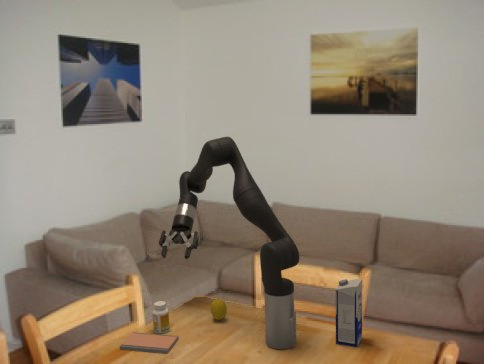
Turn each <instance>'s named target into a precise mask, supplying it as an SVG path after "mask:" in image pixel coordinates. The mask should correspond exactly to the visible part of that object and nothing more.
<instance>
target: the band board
mask: <svg viewBox="0 0 484 364" xmlns="http://www.w3.org/2000/svg"><path fill="white" fill-rule="evenodd" d="M179 337H180V336H179V335H170V334H158V333H145V332H132V333H130V334H129V336H127V337H126V338H125V340H123V342H122V343H121V344H120V345H119V350H123V351H134V352H145V353H146V352H147V353H158V354H168V353H169V352H170V351H171V349H173V347H174V346H175V345H176V343H177V342H178V341H179Z"/></svg>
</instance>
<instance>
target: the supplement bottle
mask: <svg viewBox="0 0 484 364" xmlns="http://www.w3.org/2000/svg"><path fill="white" fill-rule="evenodd" d="M153 307H154V309H153V310H152V312H151V313H152V327H153V332H154V334H160V335H162V334H166V333H168V332H169V331H170V328H171V327H170V316H169V315H170V314H169V313H170V312H169V309H168V307H167V302H166V301H164V300H160V301H156V302H154V303H153Z"/></svg>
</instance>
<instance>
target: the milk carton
mask: <svg viewBox="0 0 484 364" xmlns="http://www.w3.org/2000/svg"><path fill="white" fill-rule="evenodd" d="M362 339H363V278H358V279H356V278H354V279H349V280H348V279H342V280H339V281H338V286H337V287H335V345H339V346H340V345H341V346H346V347H353V348H358V347H359V345H360V343H361V341H362Z"/></svg>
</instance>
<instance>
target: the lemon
mask: <svg viewBox="0 0 484 364" xmlns="http://www.w3.org/2000/svg"><path fill="white" fill-rule="evenodd" d="M227 311H228V308H227V304H226V302H225V301H224V300H223V299H221V298H216V299H214V300H213V301H212V302H211V305H210V312H211V313H210V314H211V316H212V318H214V319H215V320H218V321H221V320H222V319H224V318H225V316H226V315H227Z"/></svg>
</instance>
